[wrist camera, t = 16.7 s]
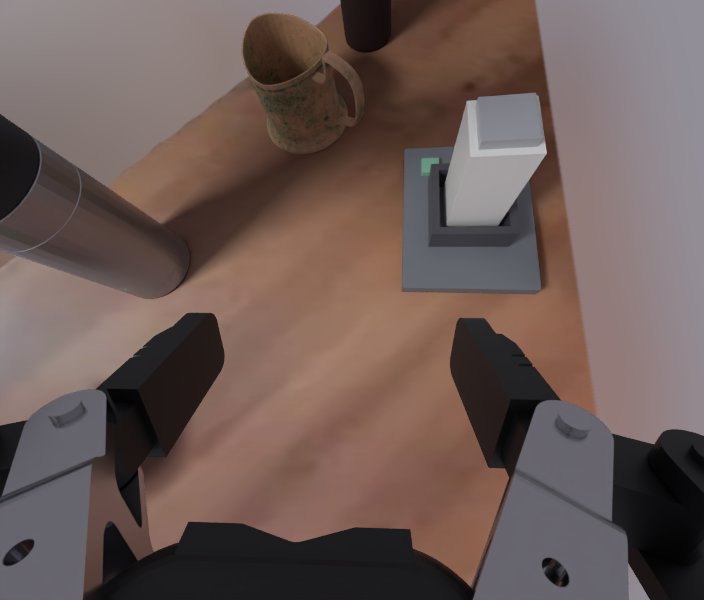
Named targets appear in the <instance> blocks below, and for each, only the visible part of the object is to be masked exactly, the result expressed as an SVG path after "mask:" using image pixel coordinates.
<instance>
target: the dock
mask: <svg viewBox="0 0 704 600" xmlns="http://www.w3.org/2000/svg"><path fill="white" fill-rule="evenodd" d="M453 151H454V147H433V148H412V149H405V151H404V194H403V253H402V292H448V293H499V294H536V293H538V292H539V291H541V290H542V289H541V280H540V271H539V262H538V252H537V243H536V234H535V225H534V215H533V206H532V197H531V188H530V179H529V181H528V182H527V183H526V185H525V186H524V188H523V189H522V191H521V192H520V194H519V195H518V197H517V198H516V200H515V201H514V203H513V204H512V206H511V207H510V209H509V210H508V212H507V213H506V215H505V216H504V217H503V219H502V220H501V222H500V223H499V225H498V226H482V227H443V203H442V193H443V189H444V185H445V181H446V177H447V174H448V170H449V166H450V162H451V159H452V155H453Z"/></svg>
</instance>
